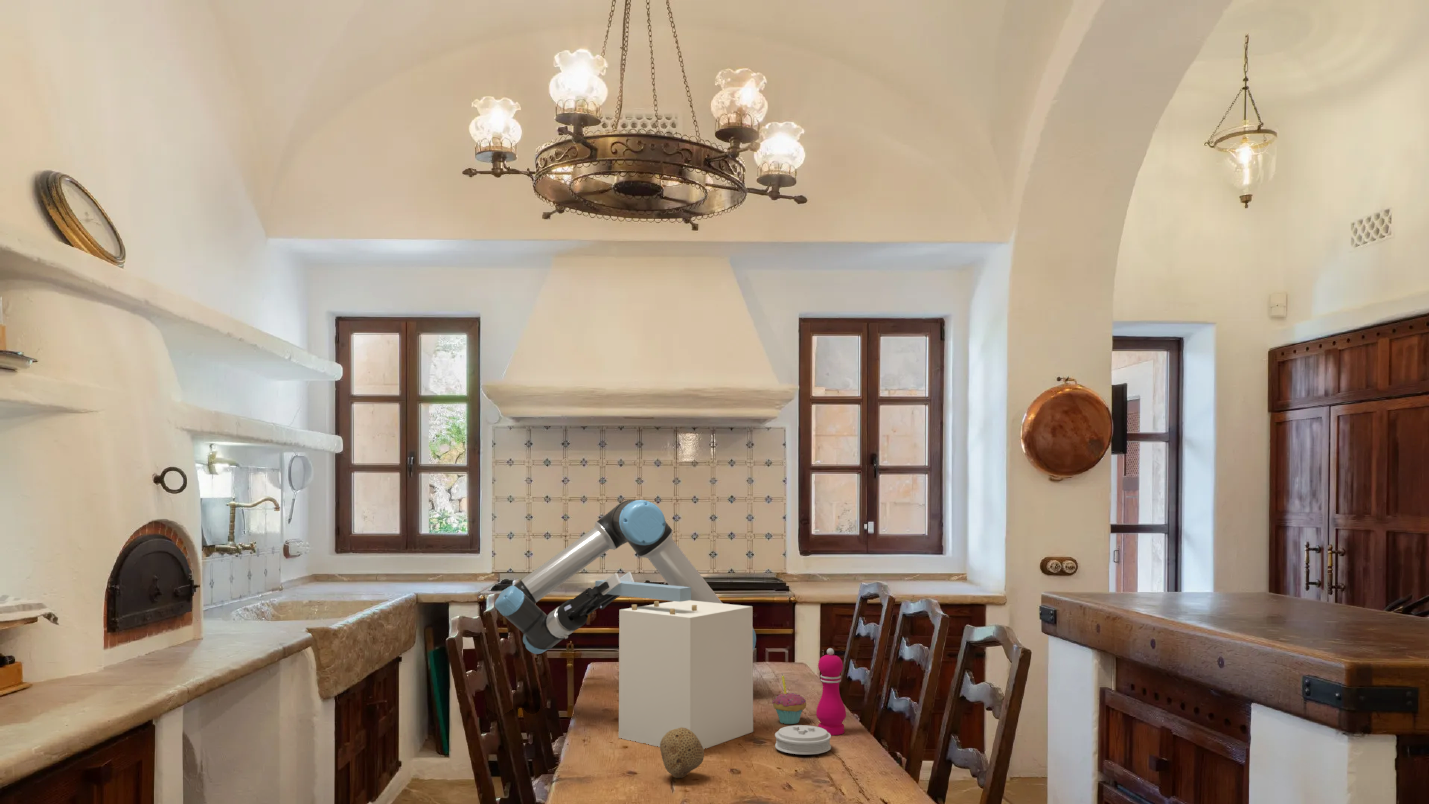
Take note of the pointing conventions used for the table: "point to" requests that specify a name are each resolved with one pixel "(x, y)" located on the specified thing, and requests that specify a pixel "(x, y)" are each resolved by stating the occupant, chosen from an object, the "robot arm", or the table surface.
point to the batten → (650, 591)
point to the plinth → (685, 671)
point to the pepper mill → (831, 695)
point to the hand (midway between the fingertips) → (624, 577)
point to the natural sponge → (681, 752)
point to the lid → (802, 739)
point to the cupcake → (789, 706)
